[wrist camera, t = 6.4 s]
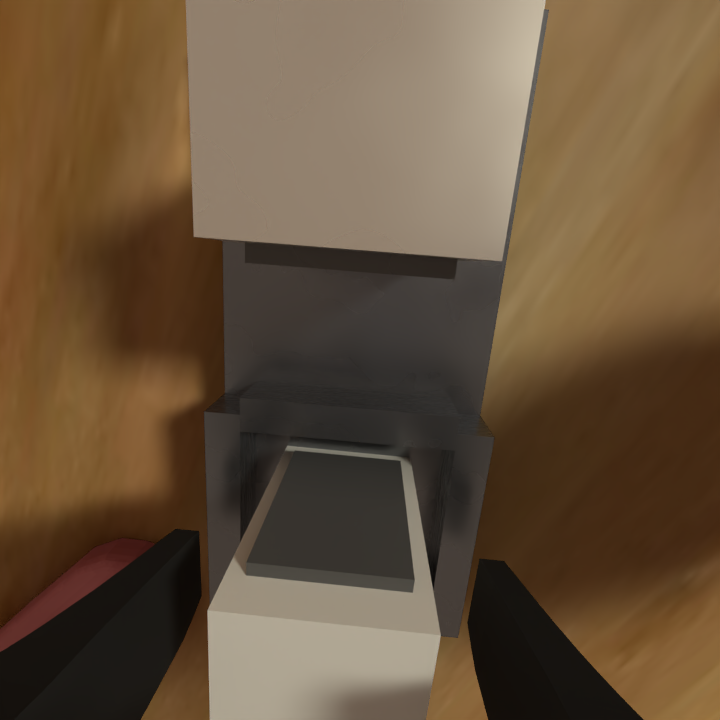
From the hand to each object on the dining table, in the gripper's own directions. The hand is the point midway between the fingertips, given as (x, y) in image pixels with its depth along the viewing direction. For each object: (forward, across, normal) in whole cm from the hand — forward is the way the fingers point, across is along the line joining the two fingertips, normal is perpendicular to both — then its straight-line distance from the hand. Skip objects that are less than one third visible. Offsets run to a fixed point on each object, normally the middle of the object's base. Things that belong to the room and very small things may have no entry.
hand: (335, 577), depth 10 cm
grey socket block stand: (+5, 0, -6) cm, 8 cm away
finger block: (+3, 0, 0) cm, 3 cm away
